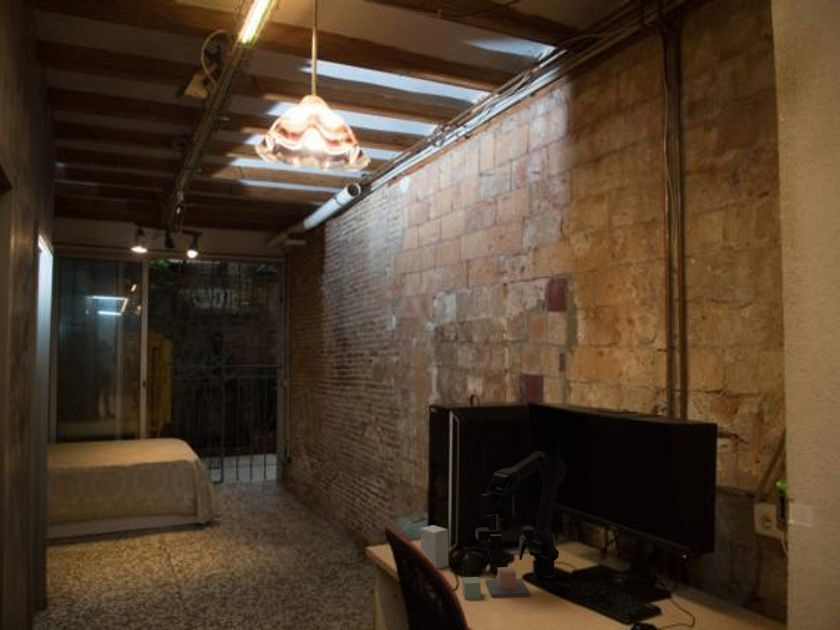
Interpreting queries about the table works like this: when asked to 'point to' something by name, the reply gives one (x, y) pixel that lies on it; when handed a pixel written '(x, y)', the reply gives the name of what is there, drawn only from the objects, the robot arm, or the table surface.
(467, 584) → the sage brick
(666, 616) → the table surface
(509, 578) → the terracotta brick
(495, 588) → the tower base
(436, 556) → the small box
